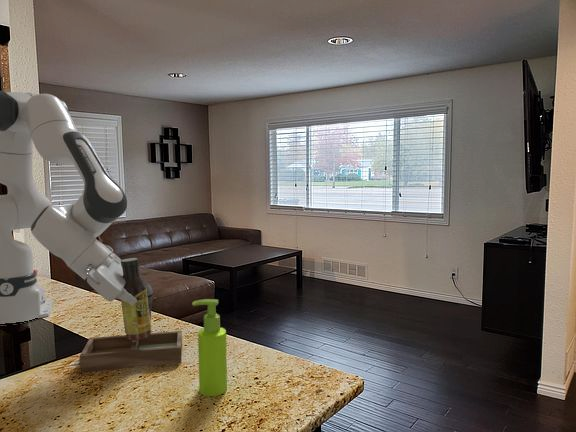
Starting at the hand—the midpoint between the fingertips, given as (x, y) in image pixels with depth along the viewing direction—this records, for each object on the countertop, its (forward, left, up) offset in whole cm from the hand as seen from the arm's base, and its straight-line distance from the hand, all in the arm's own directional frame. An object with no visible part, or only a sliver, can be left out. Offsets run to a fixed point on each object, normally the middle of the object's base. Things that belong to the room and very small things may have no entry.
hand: (137, 298), depth 110 cm
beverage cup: (-16, -1, -16) cm, 23 cm away
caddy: (0, -1, -15) cm, 16 cm away
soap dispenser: (+20, +17, -16) cm, 30 cm away
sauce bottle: (0, 0, -10) cm, 10 cm away
